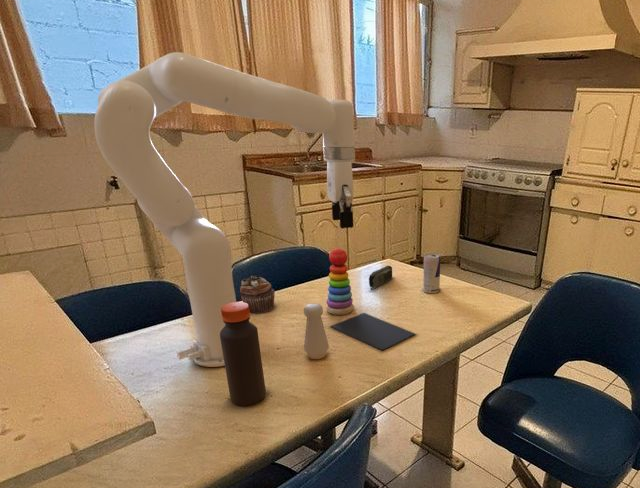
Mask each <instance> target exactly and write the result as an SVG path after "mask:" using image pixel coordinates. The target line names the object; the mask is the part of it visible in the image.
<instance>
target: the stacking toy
mask: <svg viewBox="0 0 640 488" xmlns="http://www.w3.org/2000/svg"><path fill="white" fill-rule="evenodd" d="M328 256H329V257H328V259H329V261H330V263H331V264H332V265H330V267H329V271H330V272H329V274H328V277H329V280H328V284H329V285H328V287H327V290H328V293H327V299H326V307H325V309H326V312H328V313H329V314H332V315H334V316H335V315H336V316H340V315H348V314H350V313H352V312H353V311H354V309H355V305H354V303H353V302H354V301H353V297H352V296H353V293H352V291H351V290H352V286H351V285H350V283H351V281H350V278H349V272H348V269H349V268H348V267H349V266H348V265H347V264H346V263H347V261H348V253H347V252H346V251H345V250H344V249H343V248H339V247H338V248H334V249H332V250H331V251H330V253H329V255H328Z"/></svg>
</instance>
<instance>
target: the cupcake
mask: <svg viewBox="0 0 640 488" xmlns="http://www.w3.org/2000/svg"><path fill="white" fill-rule="evenodd" d="M239 292H240V293H239V295H240V298H241V301H242V302H245V303H247V304H248V305H249V310H250V314H262V313H263V314H264V313H267V312H270V311H271V310H273V309H274V307H275V296H276V295H275V293H276V292H275V289H273V288H272V283H270V282H269V281H267V280H266V279H265V278H263V277H262V276H261V275H255V274H251V275H250V277H248V278H245V277H244V278H242V280H241V285H240V288H239Z"/></svg>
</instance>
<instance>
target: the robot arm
mask: <svg viewBox="0 0 640 488" xmlns="http://www.w3.org/2000/svg"><path fill="white" fill-rule="evenodd" d="M183 102H186V103H190V104H193V105H196V106H200V107H204V108H209V109H211V110H215V111H219V112H223V113H225V114H230V115H233V116H236V117H241V118H244V119H250V120H258V121H259V120H260V121H269V122H276V123H280V124H285V125H289V126H290V127H291V128H292V129H293V130H295V131H297V132H300V133H308V134H322V145H323V146H322V147H323V161H324V162H327V163H326V189H327V190H326V191H327V192H326V193H327V199H329V200H330V201H331V214H332V215H331V217H332V220H333V221H339V227H340V228H341V229H351V228H352V229H353V228H354V209H353V201H354V179H353V178H354V177H353V175H354V174H353V165H352V162H356V148H355V147H356V146H355V145H356V143H355V119H354V118H355V116H354V105H353V103H352V102H351V101H350V100H348V99H347V100H346V99H326V97H323V96H321V95H318V94H316V93H312V92H309V91H306V90H304V89H300V88H298V87H294V86H291V85H288V84H287V85H286V84H283V83H279V82H277V81H272V80H269V79H266V78H263V77H259V76H255V75H252V74H249V73H246V72H243V71H239V70H236V69H233V68H230V67H227V66H224V65H221V64H218V63H216V62H212V61H210V60H207V59H204V58H201V57H198V56H194V55H192V54H188V53H184V52H179V51H177V52H176V51H174V52H169V53H167V54H165V55H163V56H161V57H159V58H157V59H155V60H154V61H152V62H150V63H149V64H147V65H146V66H143V67H142V68H140V69H138V70H136V71H134V72H131V73H130V74H127V75H126V76H123V77H122V78H120V79H118V80H115V81H113V82H111V83H109V84H107V85H106V86H104V87H103V88H102V89H101V90H100V92H99V94H98V97H97V108H96V111H95V115H94V120H93V121H94V122H93V124H94V125H93V126H94V127H93V128H94V135H95V140H96V145H97V147H98V149H99V151H100V153H101V156H102V157H103V158H104V160H105V161H106V163H107V164H108V166H109V167H110V168H111V170H112V171H113V172H114V174H116V176H117V177H118V179H120V181H121V182H122V184H123V185H124V186H125V187H126V188H127V189H128V190H129V192H130V193H131V194H132V195H133V196H134V198H135V200H136V202H137V204H138V207H139V208H140V209H141V212H143V213H144V214H145V216H146V217H147V219H149V220H150V222H151V223H152V224H153V225H154V226H155V227H156V228H157V230H158V231H159V232H160V233H161V234H162V235H163V236H164V238H165V239H166V240H167V241H168V242H169V243H170V245H172V247H173V248H174V249H175V250H176V251H177V252H178V253H179V254H180V256H181V257H182V262H183V266H184V277H185V283H186V290H187V294H188V298H189V303H190V304H189V305H190V308H191V314H192V318H193V324H194V330H195V333H196V339H193V340H192V342H193V344H192V345H190V346H189V347H188V348H186V349H185V348H184V349H180V350H177V351H176V357H177V359H178V360H180V361H181V360H184V359H186V358H187V359H188V361H192V360H193V361H194V363H195V364H196V365H199V366H201V367H208V368H218V367H225V363H224V358H223V352H222V346H221V340H220V331H221V330H222V329H223V328H224V326H225V323H224V322H223V319H222V313H221V308H222V306H224V305H226V304H229V303H233V302H237V297H236V292H235V285H234V277H233V267H232V265H233V264H232V263H233V261H232V248H231V244H230V241H229V239H228V237H227V236H226V235H225V233H224V232H223V231H222V230H221V229H220V228H219V227H217V226H215V225H214V224H212V223H211V222H210V221H208V219H207V218H206V217H205V216H204V214H203V213H202V212H201V211H200V210H199V208H198V207H197V206H196V204H195V200H194V197H193V196H192V194H191V192H190V190H189V189H188V188H187V187H186V186H185V185H184V184H183V183H182V182H181V180H180V179H179V178H178V177H177V176H176V174H175V173H174V172H173V171H172V170H171V168H170V167H169V165H167V163H166V162H165V160H164V159H163V157H162V156H161V154H160V153H159V152H158V151H157V149H156V148H155V146H154V144H153V142H152V139H151V133H150V132H151V131H150V130H151V127H152V125H153V122H154V121H155V118H158V117H159V116H161V115H163V114H165V113H167V112H168V111H170V110H172V109H173V108H175V107H177V106H179V105H180V104H181V103H183Z"/></svg>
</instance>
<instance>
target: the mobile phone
mask: <svg viewBox="0 0 640 488" xmlns="http://www.w3.org/2000/svg"><path fill="white" fill-rule="evenodd" d="M392 279H393V266H391V265H385V266H383V267H381V268H379V269H377V270H375V271H372V272H371V273H370V275H369V277H368V286H369V287H370V291H373V290H375V289H376V288H378V287H379V286H382V285H383V284H386V283H387V282H388V281H390V280H392Z"/></svg>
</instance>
